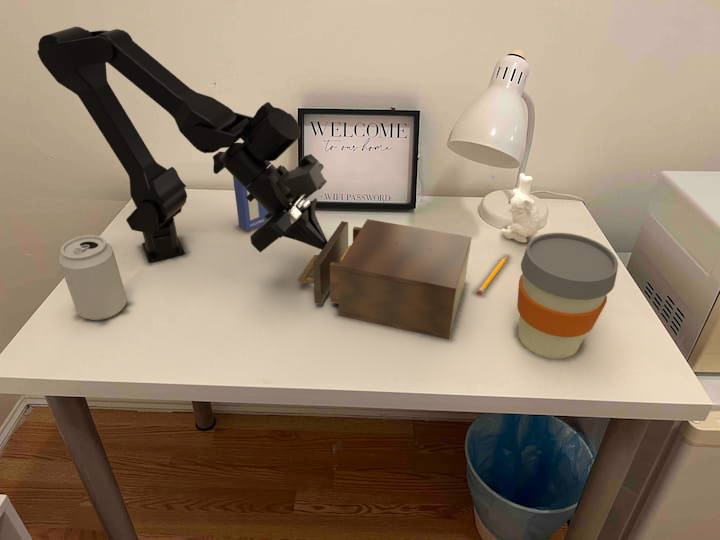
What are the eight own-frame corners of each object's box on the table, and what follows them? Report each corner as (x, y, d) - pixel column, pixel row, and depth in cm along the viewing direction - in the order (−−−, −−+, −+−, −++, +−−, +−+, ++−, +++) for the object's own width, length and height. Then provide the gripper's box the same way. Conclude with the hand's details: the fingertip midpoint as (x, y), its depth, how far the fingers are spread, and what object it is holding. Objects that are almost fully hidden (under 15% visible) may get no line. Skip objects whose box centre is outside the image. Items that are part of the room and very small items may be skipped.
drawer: (290, 298, 91) (287, 258, 87) (320, 254, 102) (319, 216, 97) (415, 324, 86) (418, 283, 82) (432, 276, 97) (437, 237, 92)
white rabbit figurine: (497, 224, 113) (507, 169, 106) (531, 227, 112) (543, 171, 106) (501, 247, 106) (512, 190, 99) (537, 250, 106) (551, 192, 99)
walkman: (247, 232, 109) (240, 175, 102) (239, 226, 111) (232, 170, 104) (279, 218, 114) (275, 163, 107) (271, 213, 115) (266, 158, 109)
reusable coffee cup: (593, 375, 79) (623, 290, 70) (502, 356, 82) (521, 272, 73) (590, 320, 89) (617, 240, 80) (509, 305, 92) (527, 225, 83)
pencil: (476, 294, 94) (477, 291, 94) (504, 257, 104) (505, 254, 103) (481, 295, 94) (481, 292, 94) (508, 258, 103) (509, 255, 103)
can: (138, 299, 92) (121, 236, 85) (107, 328, 86) (86, 263, 79) (100, 290, 93) (80, 227, 87) (67, 317, 88) (43, 252, 81)
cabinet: (338, 315, 89) (338, 265, 84) (365, 265, 100) (367, 218, 95) (448, 339, 85) (456, 288, 79) (464, 284, 96) (471, 236, 91)
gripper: (262, 172, 76) (340, 254, 80) (313, 125, 91) (377, 196, 94) (218, 214, 83) (292, 288, 86) (272, 163, 97) (333, 229, 101)
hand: (326, 247), depth 92 cm, fingers closed, pressing on drawer
